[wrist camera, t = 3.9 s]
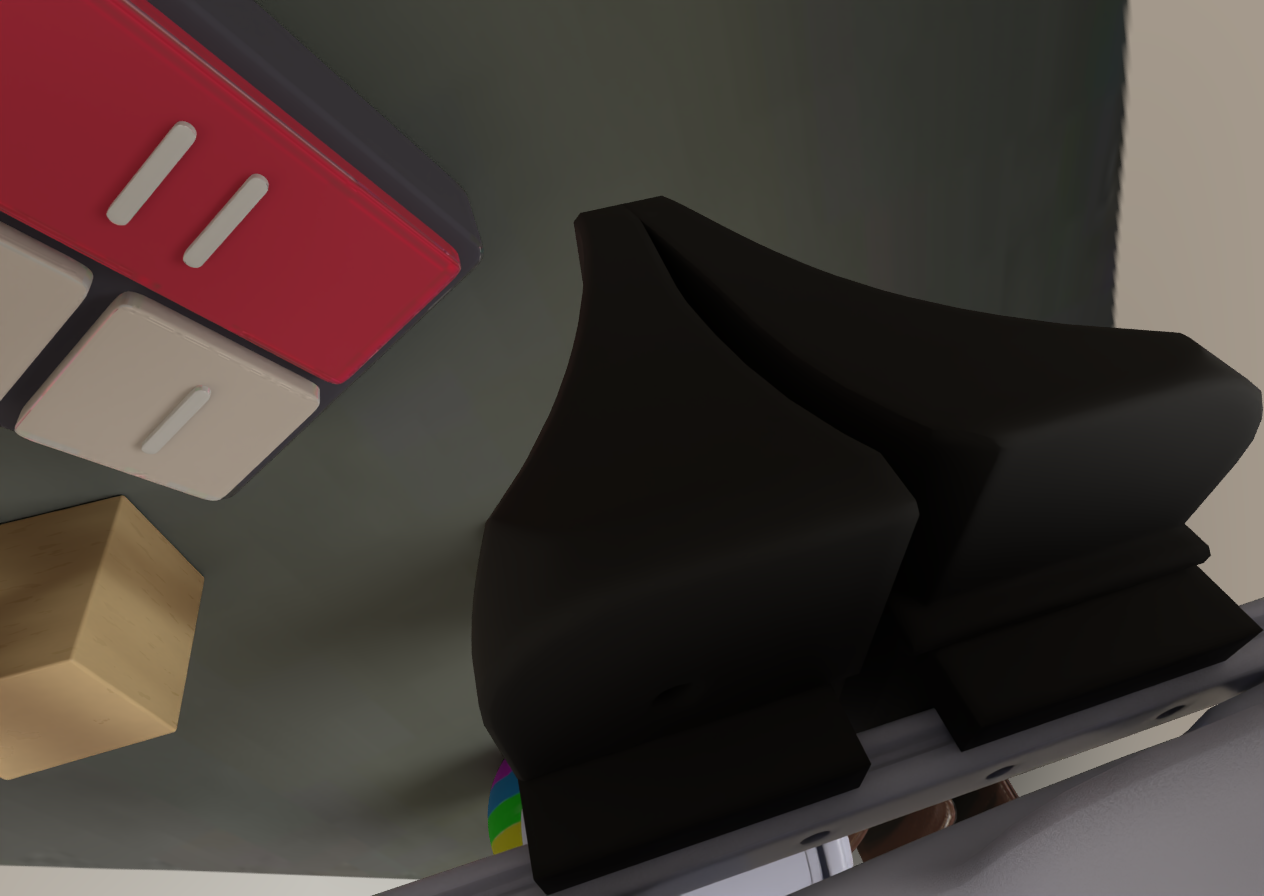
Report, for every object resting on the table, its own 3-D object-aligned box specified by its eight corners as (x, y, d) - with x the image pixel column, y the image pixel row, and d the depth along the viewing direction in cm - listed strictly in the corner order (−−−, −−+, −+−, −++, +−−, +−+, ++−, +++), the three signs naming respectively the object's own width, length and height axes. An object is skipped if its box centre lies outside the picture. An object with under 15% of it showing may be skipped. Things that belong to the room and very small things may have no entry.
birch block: (124, 493, 22) (71, 660, 18) (205, 577, 26) (177, 732, 21) (-46, 534, 21) (-141, 717, 17) (63, 614, 25) (6, 781, 21)
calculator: (224, 527, 19) (-994, 142, 8) (235, 422, 22) (-673, 31, 11) (499, 271, 16) (-880, -864, 5) (471, 186, 19) (-472, -672, 8)
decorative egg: (484, 738, 42) (509, 929, 35) (611, 714, 44) (657, 887, 38) (477, 791, 47) (498, 964, 40) (591, 767, 50) (628, 925, 43)
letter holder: (936, 659, 54) (1060, 852, 44) (867, 755, 68) (950, 917, 58) (823, 690, 52) (927, 900, 42) (776, 783, 66) (847, 956, 56)
